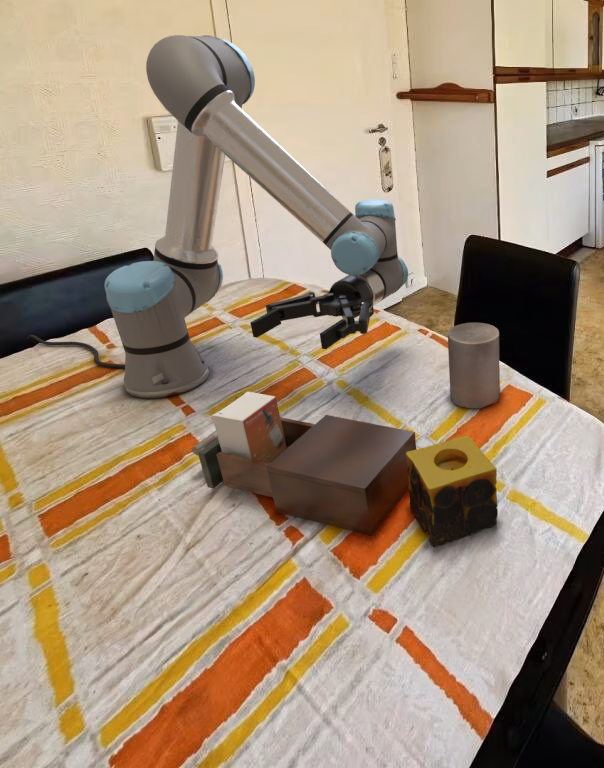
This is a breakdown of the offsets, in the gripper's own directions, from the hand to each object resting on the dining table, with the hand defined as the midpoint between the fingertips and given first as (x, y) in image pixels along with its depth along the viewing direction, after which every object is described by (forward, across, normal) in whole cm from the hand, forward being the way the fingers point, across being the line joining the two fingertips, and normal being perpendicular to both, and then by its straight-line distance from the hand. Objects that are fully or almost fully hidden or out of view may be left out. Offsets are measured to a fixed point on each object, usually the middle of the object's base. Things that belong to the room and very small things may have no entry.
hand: (287, 335), depth 103 cm
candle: (+13, -35, -18) cm, 42 cm away
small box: (+14, -2, -16) cm, 21 cm away
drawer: (+13, -2, -17) cm, 22 cm away
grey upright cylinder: (-21, -25, -18) cm, 37 cm away
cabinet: (+13, -18, -18) cm, 29 cm away
